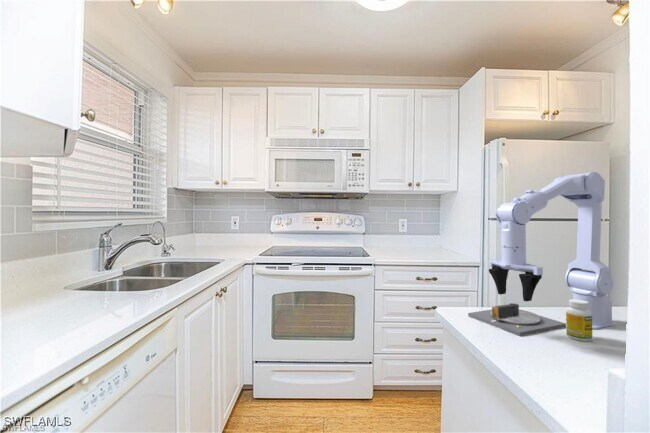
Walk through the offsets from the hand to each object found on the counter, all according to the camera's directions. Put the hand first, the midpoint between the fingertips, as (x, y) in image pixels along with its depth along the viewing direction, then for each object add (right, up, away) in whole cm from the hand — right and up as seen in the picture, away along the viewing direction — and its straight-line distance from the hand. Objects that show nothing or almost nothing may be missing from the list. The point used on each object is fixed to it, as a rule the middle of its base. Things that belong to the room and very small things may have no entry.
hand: (514, 297), depth 86 cm
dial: (+5, -9, +10) cm, 14 cm away
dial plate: (+6, -10, +10) cm, 16 cm away
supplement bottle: (+15, -10, -3) cm, 19 cm away
